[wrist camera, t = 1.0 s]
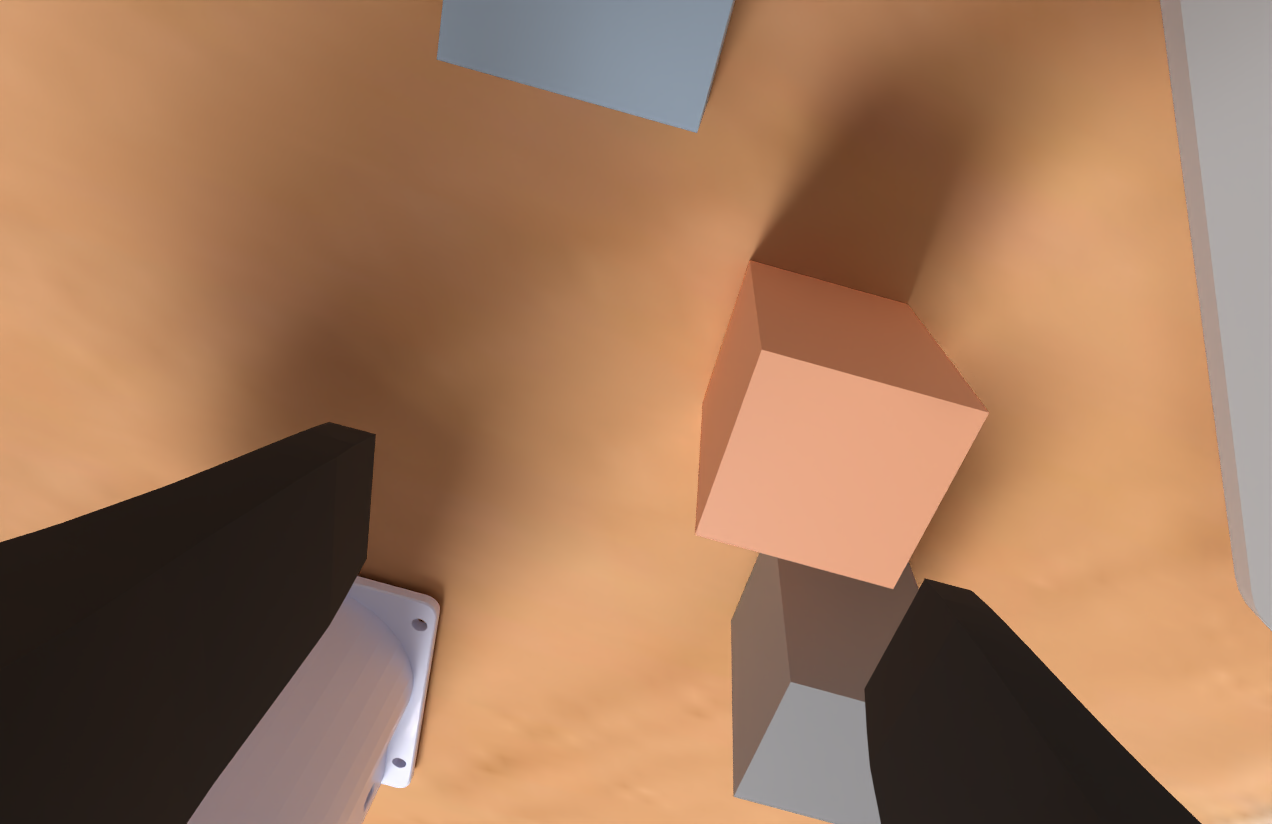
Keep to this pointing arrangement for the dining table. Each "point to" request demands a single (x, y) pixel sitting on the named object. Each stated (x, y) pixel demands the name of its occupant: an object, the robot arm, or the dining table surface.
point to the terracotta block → (829, 427)
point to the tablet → (1232, 249)
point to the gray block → (809, 687)
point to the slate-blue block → (596, 50)
